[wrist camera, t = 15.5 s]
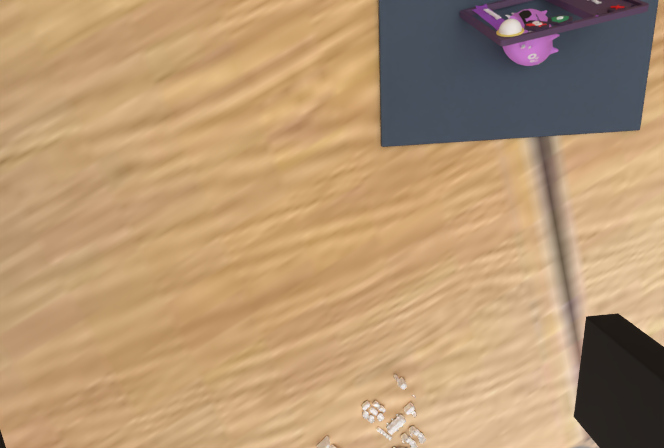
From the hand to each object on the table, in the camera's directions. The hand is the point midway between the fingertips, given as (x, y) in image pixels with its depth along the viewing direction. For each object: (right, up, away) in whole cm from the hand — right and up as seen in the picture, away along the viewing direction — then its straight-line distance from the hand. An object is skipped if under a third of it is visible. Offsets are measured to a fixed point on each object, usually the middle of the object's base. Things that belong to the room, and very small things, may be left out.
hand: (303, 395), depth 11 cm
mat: (+14, +17, +24) cm, 33 cm away
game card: (+14, +17, +24) cm, 33 cm away
